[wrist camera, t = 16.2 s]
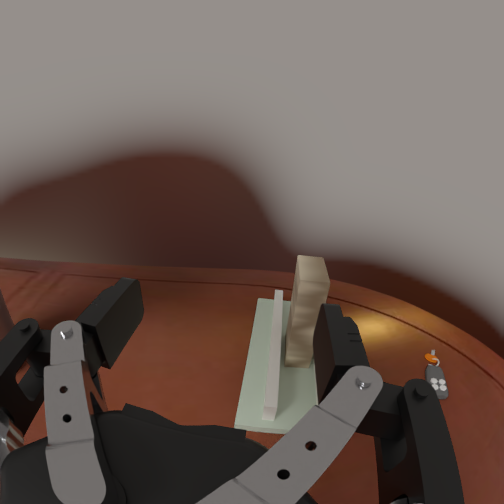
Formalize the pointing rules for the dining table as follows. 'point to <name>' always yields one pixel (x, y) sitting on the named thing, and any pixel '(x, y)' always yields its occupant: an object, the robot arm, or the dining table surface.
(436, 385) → the key chain
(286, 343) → the beige tall block
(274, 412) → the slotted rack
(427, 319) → the dining table surface
